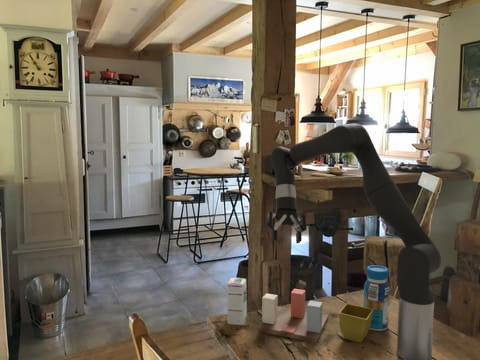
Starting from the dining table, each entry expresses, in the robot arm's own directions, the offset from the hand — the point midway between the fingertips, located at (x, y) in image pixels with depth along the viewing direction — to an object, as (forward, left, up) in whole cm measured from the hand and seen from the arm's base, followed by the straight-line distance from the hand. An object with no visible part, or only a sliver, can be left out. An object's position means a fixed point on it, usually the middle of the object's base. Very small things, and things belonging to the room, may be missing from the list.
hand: (287, 242), depth 147 cm
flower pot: (-26, +10, -26) cm, 38 cm away
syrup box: (+13, +14, -26) cm, 32 cm away
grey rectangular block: (-13, +13, -24) cm, 30 cm away
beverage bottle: (-31, -1, -26) cm, 40 cm away
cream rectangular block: (+2, +13, -24) cm, 27 cm away
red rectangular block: (-6, +5, -24) cm, 25 cm away
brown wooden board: (-6, +9, -26) cm, 28 cm away
